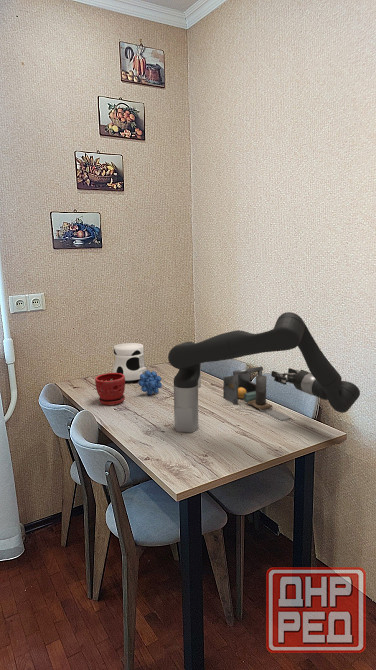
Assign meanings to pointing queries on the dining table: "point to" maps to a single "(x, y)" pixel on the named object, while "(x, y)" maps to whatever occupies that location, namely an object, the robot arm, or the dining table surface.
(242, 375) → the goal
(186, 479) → the dining table surface
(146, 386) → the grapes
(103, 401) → the plant pot
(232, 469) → the dining table surface
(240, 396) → the ball
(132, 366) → the milk container
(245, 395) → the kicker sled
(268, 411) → the rail
